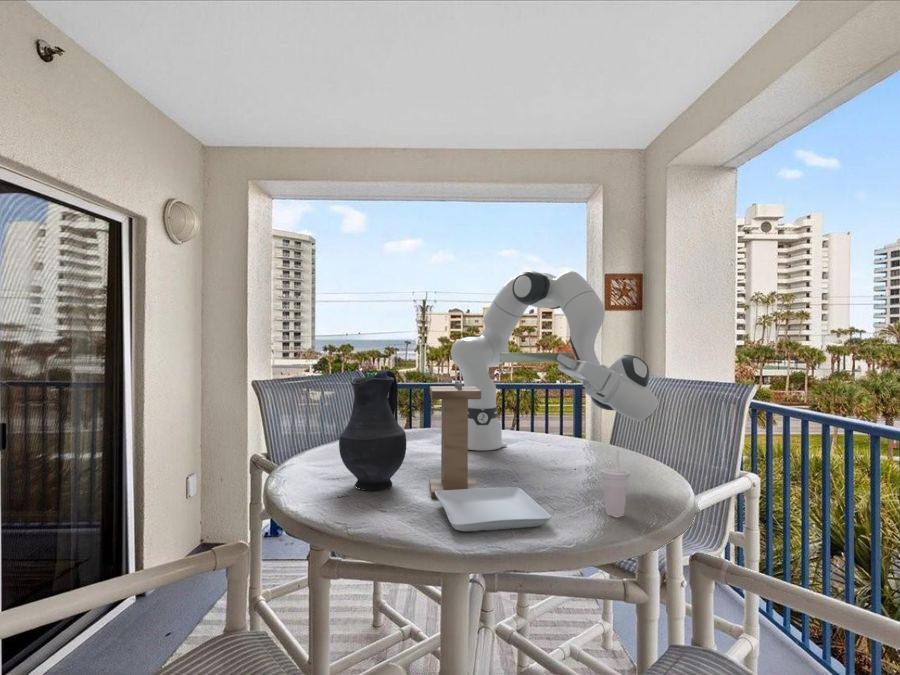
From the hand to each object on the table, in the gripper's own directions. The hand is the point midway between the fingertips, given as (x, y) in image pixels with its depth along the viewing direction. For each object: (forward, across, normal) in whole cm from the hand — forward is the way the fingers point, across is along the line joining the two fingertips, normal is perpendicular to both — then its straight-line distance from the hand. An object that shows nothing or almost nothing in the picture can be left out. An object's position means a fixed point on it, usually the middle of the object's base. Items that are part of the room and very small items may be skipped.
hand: (555, 355), depth 133 cm
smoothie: (-24, +20, +26) cm, 41 cm away
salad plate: (0, +19, +40) cm, 45 cm away
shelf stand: (+6, 0, +43) cm, 43 cm away
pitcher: (+23, -7, +53) cm, 58 cm away
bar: (+3, 0, +4) cm, 5 cm away
